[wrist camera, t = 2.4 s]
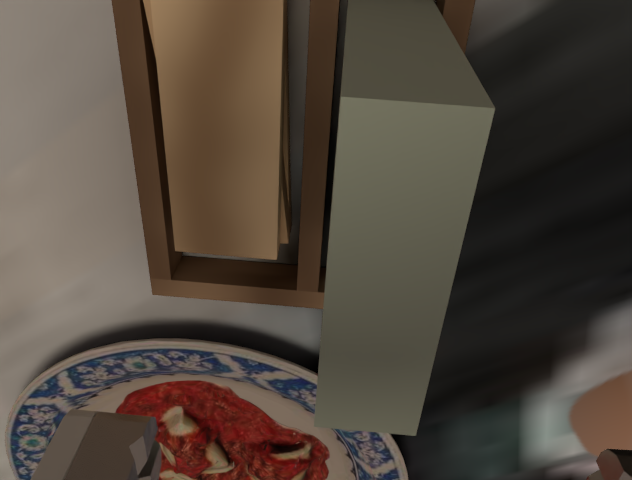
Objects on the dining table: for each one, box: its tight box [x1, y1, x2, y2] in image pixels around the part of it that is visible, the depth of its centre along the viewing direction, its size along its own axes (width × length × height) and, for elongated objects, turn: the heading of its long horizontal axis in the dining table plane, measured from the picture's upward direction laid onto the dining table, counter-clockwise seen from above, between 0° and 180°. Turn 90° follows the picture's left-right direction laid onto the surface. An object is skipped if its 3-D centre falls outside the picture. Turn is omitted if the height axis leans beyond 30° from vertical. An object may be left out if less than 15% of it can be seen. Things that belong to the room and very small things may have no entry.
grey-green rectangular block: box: [314, 0, 495, 436], centre depth 19 cm, size 3×10×12 cm, turn 177°
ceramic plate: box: [5, 338, 408, 480], centre depth 37 cm, size 26×26×3 cm
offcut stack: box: [143, 0, 292, 260], centre depth 22 cm, size 5×12×4 cm, turn 0°
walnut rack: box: [112, 0, 475, 309], centre depth 23 cm, size 13×18×2 cm
